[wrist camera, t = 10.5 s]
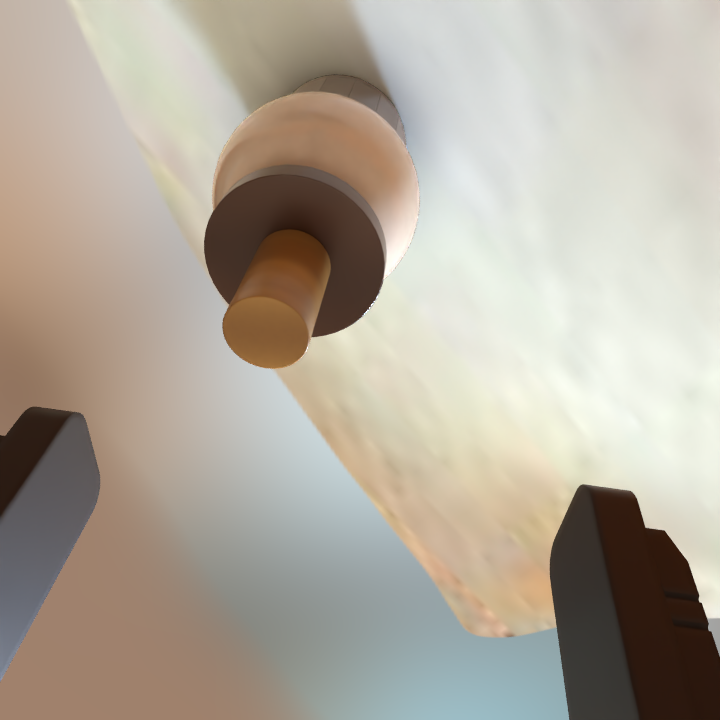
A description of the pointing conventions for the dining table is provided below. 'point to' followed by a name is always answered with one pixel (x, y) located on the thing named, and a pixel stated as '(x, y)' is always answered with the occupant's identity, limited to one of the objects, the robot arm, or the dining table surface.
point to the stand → (358, 96)
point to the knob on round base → (292, 261)
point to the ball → (330, 156)
